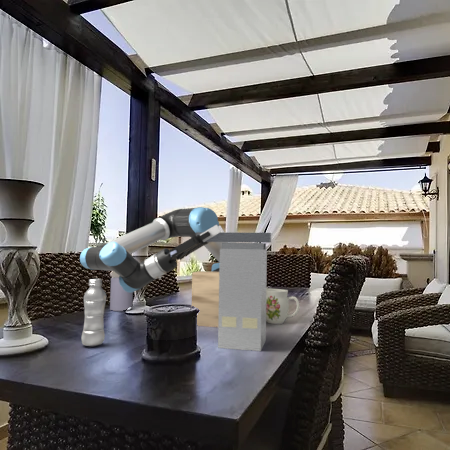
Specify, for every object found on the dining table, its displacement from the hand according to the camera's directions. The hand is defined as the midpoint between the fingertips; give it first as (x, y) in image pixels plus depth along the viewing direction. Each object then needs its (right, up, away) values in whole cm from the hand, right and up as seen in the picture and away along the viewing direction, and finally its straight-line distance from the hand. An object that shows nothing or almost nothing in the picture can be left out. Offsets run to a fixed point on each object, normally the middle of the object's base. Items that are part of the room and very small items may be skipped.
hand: (220, 228), depth 123 cm
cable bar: (+4, -4, -1) cm, 6 cm away
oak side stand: (-2, -38, +26) cm, 46 cm away
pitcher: (+23, -39, +32) cm, 56 cm away
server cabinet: (+7, -36, -4) cm, 37 cm away
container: (-48, -39, +57) cm, 84 cm away
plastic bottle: (-39, -36, -9) cm, 53 cm away
